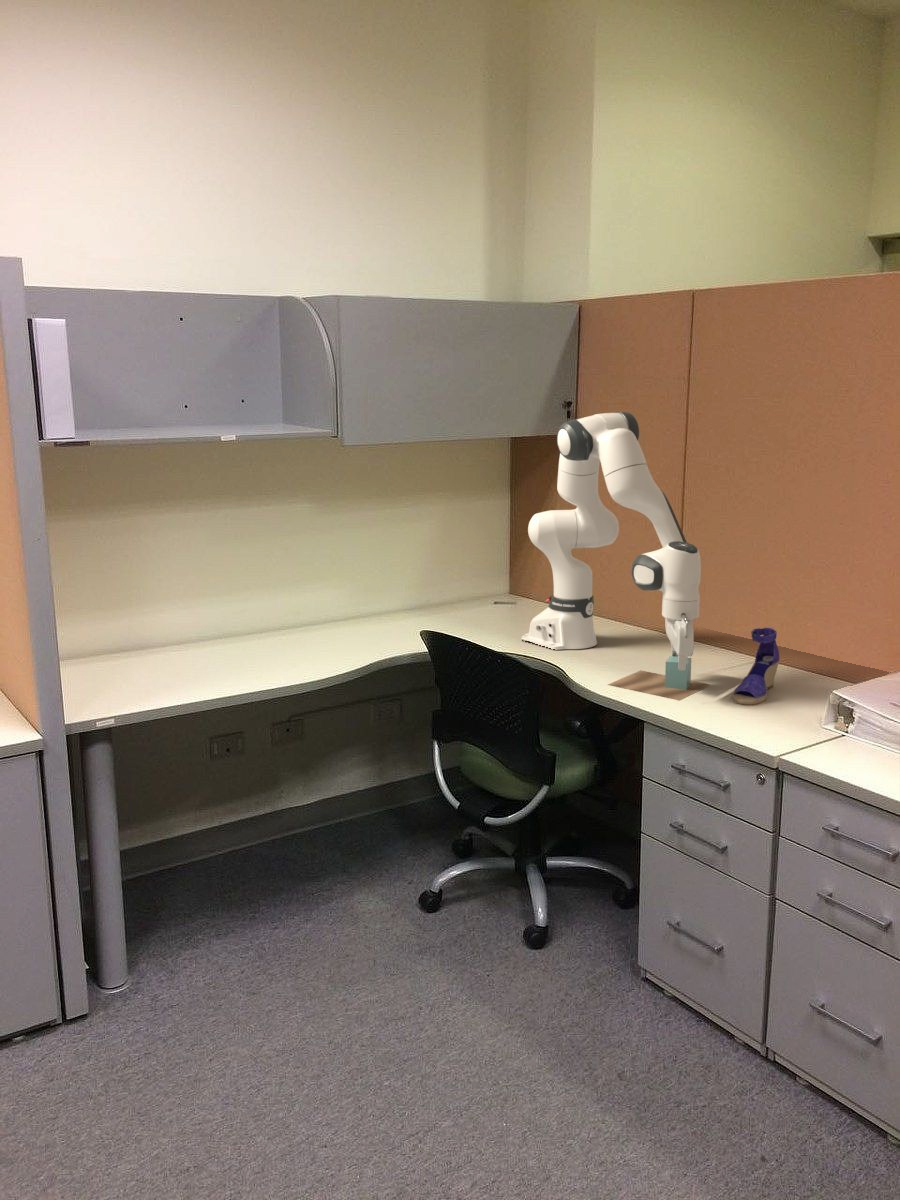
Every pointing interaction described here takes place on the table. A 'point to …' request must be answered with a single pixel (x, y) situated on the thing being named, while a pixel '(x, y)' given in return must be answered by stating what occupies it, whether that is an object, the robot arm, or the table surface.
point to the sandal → (759, 669)
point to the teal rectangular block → (677, 674)
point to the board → (656, 685)
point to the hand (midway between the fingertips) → (678, 663)
